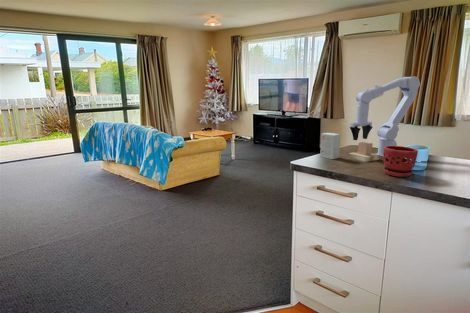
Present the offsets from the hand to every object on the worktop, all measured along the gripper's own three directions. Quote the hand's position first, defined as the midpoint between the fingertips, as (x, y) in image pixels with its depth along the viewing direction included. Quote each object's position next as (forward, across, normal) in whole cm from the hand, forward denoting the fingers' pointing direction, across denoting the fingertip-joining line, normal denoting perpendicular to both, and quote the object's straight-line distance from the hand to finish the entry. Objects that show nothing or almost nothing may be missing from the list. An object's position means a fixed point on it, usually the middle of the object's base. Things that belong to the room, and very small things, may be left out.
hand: (360, 139), depth 169 cm
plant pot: (+10, +13, +32) cm, 36 cm away
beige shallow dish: (+10, +2, +5) cm, 11 cm away
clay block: (+7, +2, +5) cm, 9 cm away
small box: (+10, +16, -6) cm, 20 cm away
